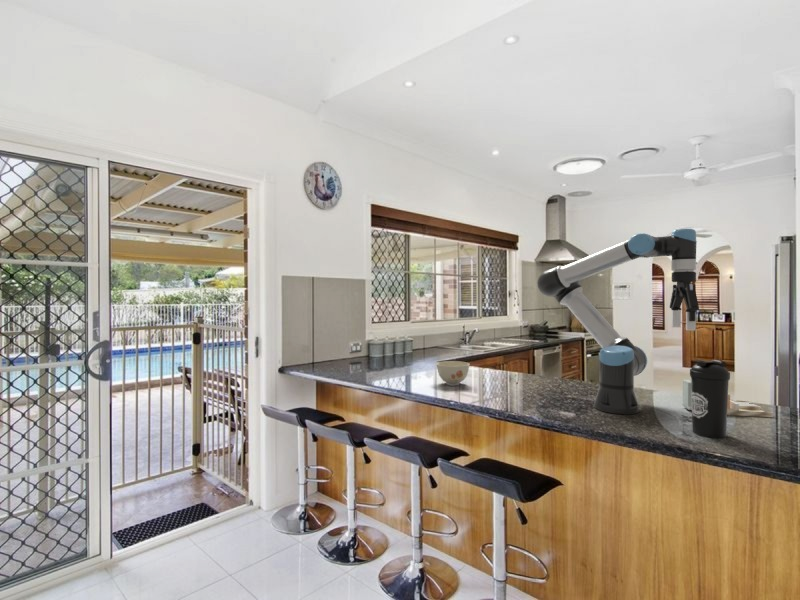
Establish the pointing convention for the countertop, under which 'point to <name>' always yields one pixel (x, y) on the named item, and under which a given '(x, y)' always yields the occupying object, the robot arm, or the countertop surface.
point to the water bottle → (709, 398)
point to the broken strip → (745, 404)
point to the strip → (688, 398)
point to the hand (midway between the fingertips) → (683, 328)
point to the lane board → (749, 411)
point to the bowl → (452, 371)
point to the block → (728, 402)
